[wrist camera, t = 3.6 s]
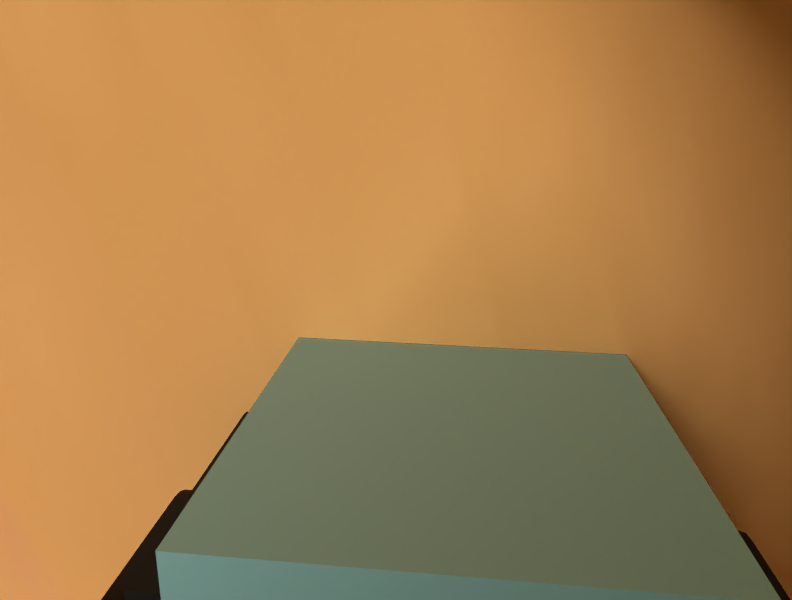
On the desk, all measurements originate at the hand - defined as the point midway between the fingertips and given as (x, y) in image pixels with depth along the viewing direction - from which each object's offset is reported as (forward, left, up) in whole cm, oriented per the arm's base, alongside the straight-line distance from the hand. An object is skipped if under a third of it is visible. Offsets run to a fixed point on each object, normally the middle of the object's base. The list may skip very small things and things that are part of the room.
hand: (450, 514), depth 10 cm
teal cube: (0, 0, -1) cm, 1 cm away
